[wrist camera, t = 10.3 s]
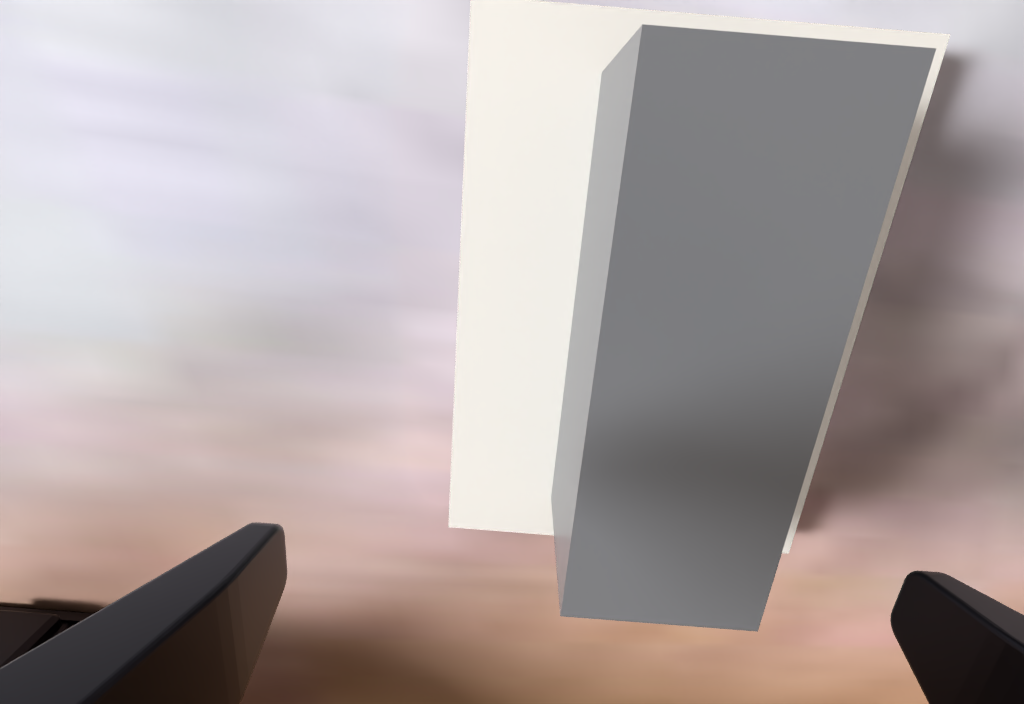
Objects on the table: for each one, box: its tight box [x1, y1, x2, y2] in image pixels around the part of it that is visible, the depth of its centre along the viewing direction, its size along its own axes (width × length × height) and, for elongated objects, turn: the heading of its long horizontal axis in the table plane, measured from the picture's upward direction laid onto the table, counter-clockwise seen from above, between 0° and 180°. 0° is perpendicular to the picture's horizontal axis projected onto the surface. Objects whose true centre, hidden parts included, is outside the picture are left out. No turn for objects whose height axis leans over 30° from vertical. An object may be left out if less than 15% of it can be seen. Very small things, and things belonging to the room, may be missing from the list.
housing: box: [551, 24, 936, 631], centre depth 13 cm, size 13×5×5 cm, turn 176°
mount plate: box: [448, 0, 950, 554], centre depth 15 cm, size 16×12×4 cm
